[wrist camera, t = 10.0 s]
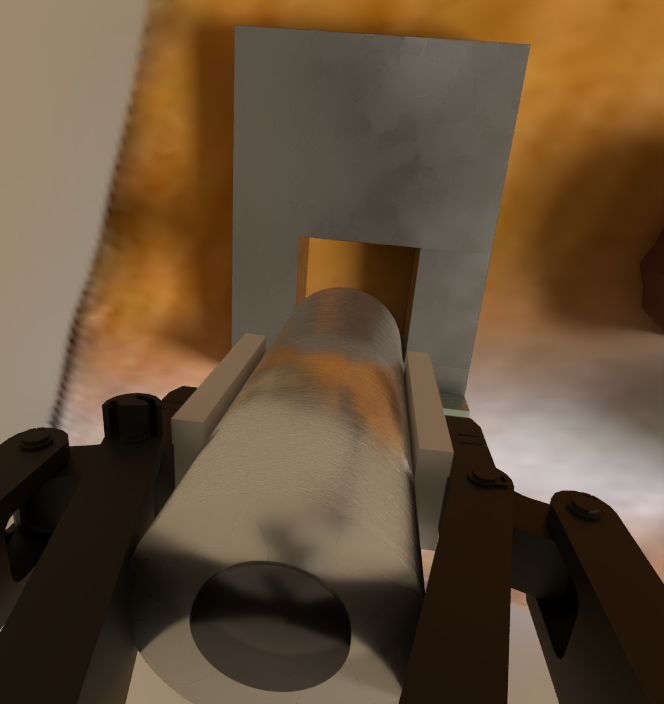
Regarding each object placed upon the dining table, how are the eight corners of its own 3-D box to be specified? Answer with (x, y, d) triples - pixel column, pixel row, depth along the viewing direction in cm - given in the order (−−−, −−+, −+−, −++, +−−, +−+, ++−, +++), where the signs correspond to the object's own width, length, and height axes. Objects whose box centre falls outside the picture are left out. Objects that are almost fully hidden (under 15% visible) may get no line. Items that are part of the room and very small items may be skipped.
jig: (255, 44, 28) (221, 12, 22) (510, 62, 27) (543, 33, 21) (247, 374, 35) (220, 414, 29) (450, 398, 34) (463, 443, 28)
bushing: (286, 281, 20) (105, 479, 7) (408, 293, 20) (453, 524, 7) (280, 392, 22) (126, 716, 9) (393, 405, 22) (406, 761, 9)
